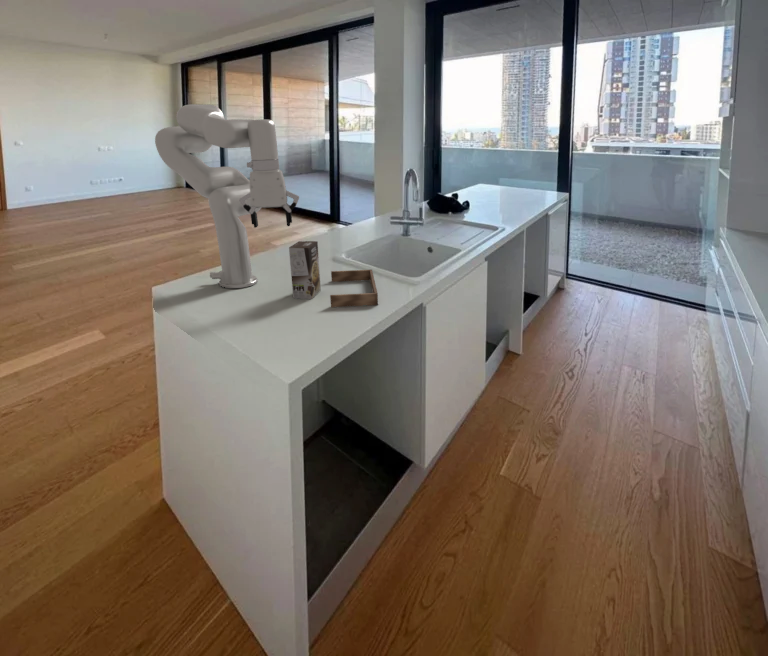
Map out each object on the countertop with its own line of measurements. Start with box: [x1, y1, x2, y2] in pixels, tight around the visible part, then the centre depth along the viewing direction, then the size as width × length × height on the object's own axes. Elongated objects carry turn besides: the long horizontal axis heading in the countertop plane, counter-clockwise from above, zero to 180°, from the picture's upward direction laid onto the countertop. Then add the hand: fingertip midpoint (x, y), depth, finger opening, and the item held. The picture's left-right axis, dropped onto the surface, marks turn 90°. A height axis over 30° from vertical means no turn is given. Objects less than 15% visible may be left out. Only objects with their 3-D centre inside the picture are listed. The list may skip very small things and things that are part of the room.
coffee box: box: [288, 240, 322, 300], centre depth 154 cm, size 9×6×16 cm
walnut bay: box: [329, 269, 379, 308], centre depth 157 cm, size 14×26×4 cm, turn 5°
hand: (272, 226), depth 149 cm, fingers open, 9 cm apart
